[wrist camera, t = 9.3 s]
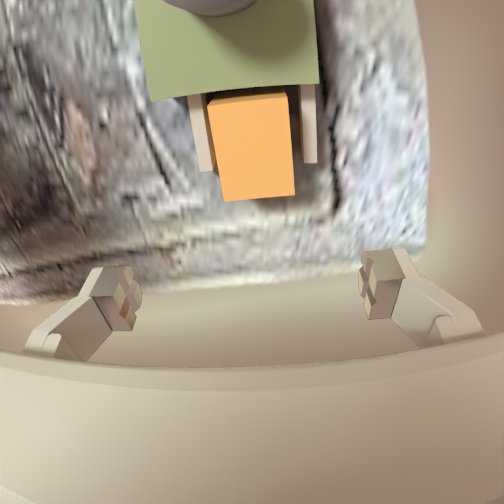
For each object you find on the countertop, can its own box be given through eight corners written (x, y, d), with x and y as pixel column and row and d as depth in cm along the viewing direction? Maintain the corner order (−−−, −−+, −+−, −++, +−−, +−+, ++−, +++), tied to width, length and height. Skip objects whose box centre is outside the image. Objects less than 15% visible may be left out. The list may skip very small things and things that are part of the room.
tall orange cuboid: (230, 173, 27) (224, 201, 23) (216, 92, 23) (206, 106, 19) (289, 167, 26) (294, 195, 22) (282, 85, 22) (287, 97, 18)
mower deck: (181, 164, 26) (150, 223, 19) (144, -63, 14) (92, -95, 7) (313, 153, 25) (334, 209, 18) (293, -84, 13) (309, -133, 6)
